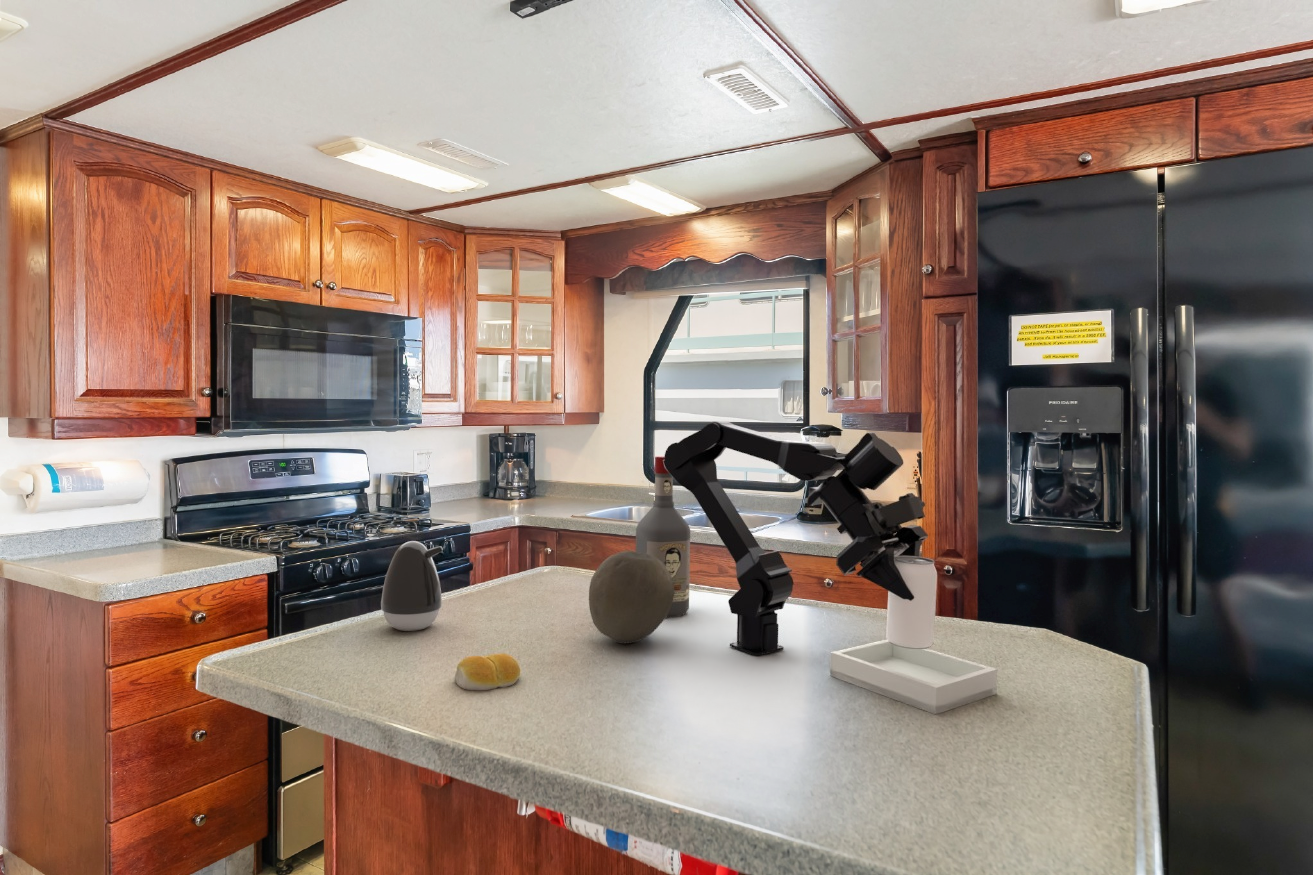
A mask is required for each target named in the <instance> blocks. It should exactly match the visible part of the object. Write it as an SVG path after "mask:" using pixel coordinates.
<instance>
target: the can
mask: <svg viewBox="0 0 1313 875" xmlns="http://www.w3.org/2000/svg"><path fill="white" fill-rule="evenodd" d="M894 563H895V565H896V567H897V568H898V570H899V572H900V574H901V576H902V578H903V580H904V582H905V583H906V585H907V587H908V588H909V590H910V591H911V593H912V594H913V596H914V599H913V600H911V601H910V600H908V599H902V598H900V597H899V596H897V595H895V594H893V593H892V592H890V591H888V590H887V591H888V594H887V608H886V610H887V611H886V612H887V613H886V630H885V633H886V634H885V635H886V636H885V638H886V639H887V640H888V641H889V643H891V644H893V645H895V646H898V647H903V648H908V649H930V648H931V647H932V646H933V645H934V641H935V623H936V602H937V586H938V583H937V582H938V572H937V569H936V567H935V563H936V562H935V560H934V559H932V558H927V557H923V556H919V557H917V556H895V557H894Z"/></svg>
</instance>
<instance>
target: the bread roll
mask: <svg viewBox="0 0 1313 875" xmlns="http://www.w3.org/2000/svg"><path fill="white" fill-rule="evenodd" d="M520 676H521V667H520V665H519V662H518V661H517V660H516V658H514V657H513V656H512V655H510V654H506V653H496V654H489V655H485V656H482V655H470V656H467V657H465V658H463V659H462V660H461V661H459V662H458V663H457V666H456V672H455V674H454V677H453V678H454V682H455V683H456V684H457V686H459V687H460V688H461V689H463V690H467V691H468V690H469V691H487V690H492V689H493V690H494V689H496V688H506V687H511V686H513V685H514V684H515V683H516V682H517V681H518V679H519V678H520Z"/></svg>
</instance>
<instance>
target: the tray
mask: <svg viewBox="0 0 1313 875" xmlns="http://www.w3.org/2000/svg"><path fill="white" fill-rule="evenodd" d="M829 663H830V666H829V668H830V670H829V672H830V674H829V676H830V677H833V678H834V679H835V678H836V679H838V680H841V681H843V682H845V683H849V684H852V685H854V686H857V687H860V688H863V689H865V690H868V691H871V692H873V693H876V694H878V695H881V696H885V697H887V698H889V699H893V700H894V701H898V702H900V703H904V704H905V705H908V706H911V707H914V708H917V709H920V710H922V711H926V712H928V713H930V714H933V715H937V714H940V713H944V712H947V711H949V710H953V709H955V708H958V707H962V706H965V705H967V704H970V703H974V702H977V701H980V700H984V699H986V698H988V697H989V698H990V697H992V696H994V695H997V691H998V690H997V689H998V685H997V684H998V668H994V667H992V666H988V665H986V664H981V663H979V662H974V661H971V660H967V659H964V658H961V657H957V656H954V655H950V654H946V653H943V652H940V651H936V650H933V649H930V648H927V649H908V648H903V647H898V646H895V645H893V644H891V643H889V641H888V640H887V638H886V639H882V640H878V641H874V642H870V643H865V644H861V645H857V646H852V647H849V648H848V647H847V648H844V649H841V650H834V651H831V652H830V662H829Z"/></svg>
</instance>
